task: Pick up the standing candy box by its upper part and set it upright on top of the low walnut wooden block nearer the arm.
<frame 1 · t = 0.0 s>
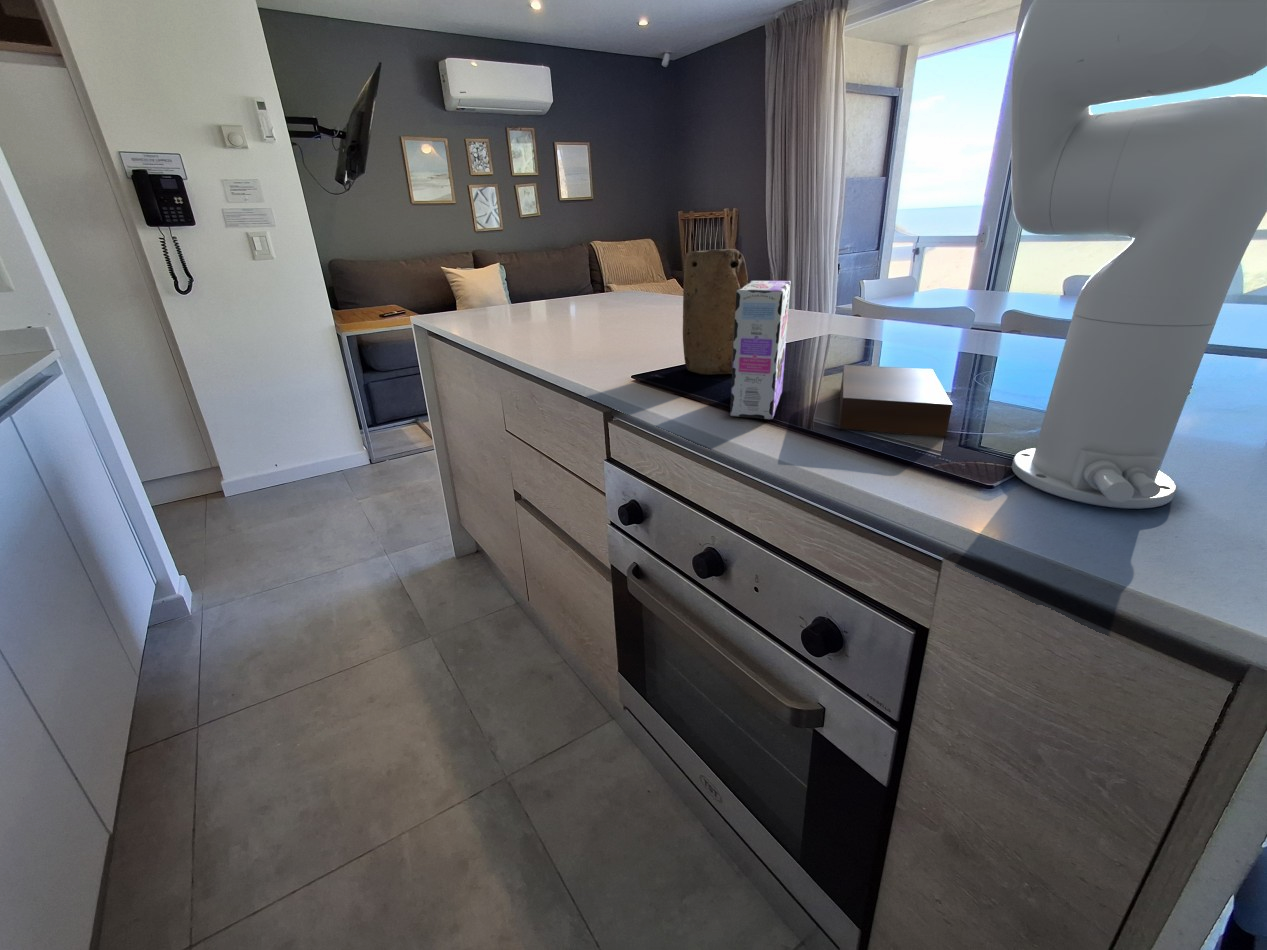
candy box: (757, 405, 81), on the countertop
block: (714, 372, 100), on the countertop
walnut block: (886, 411, 77), on the countertop
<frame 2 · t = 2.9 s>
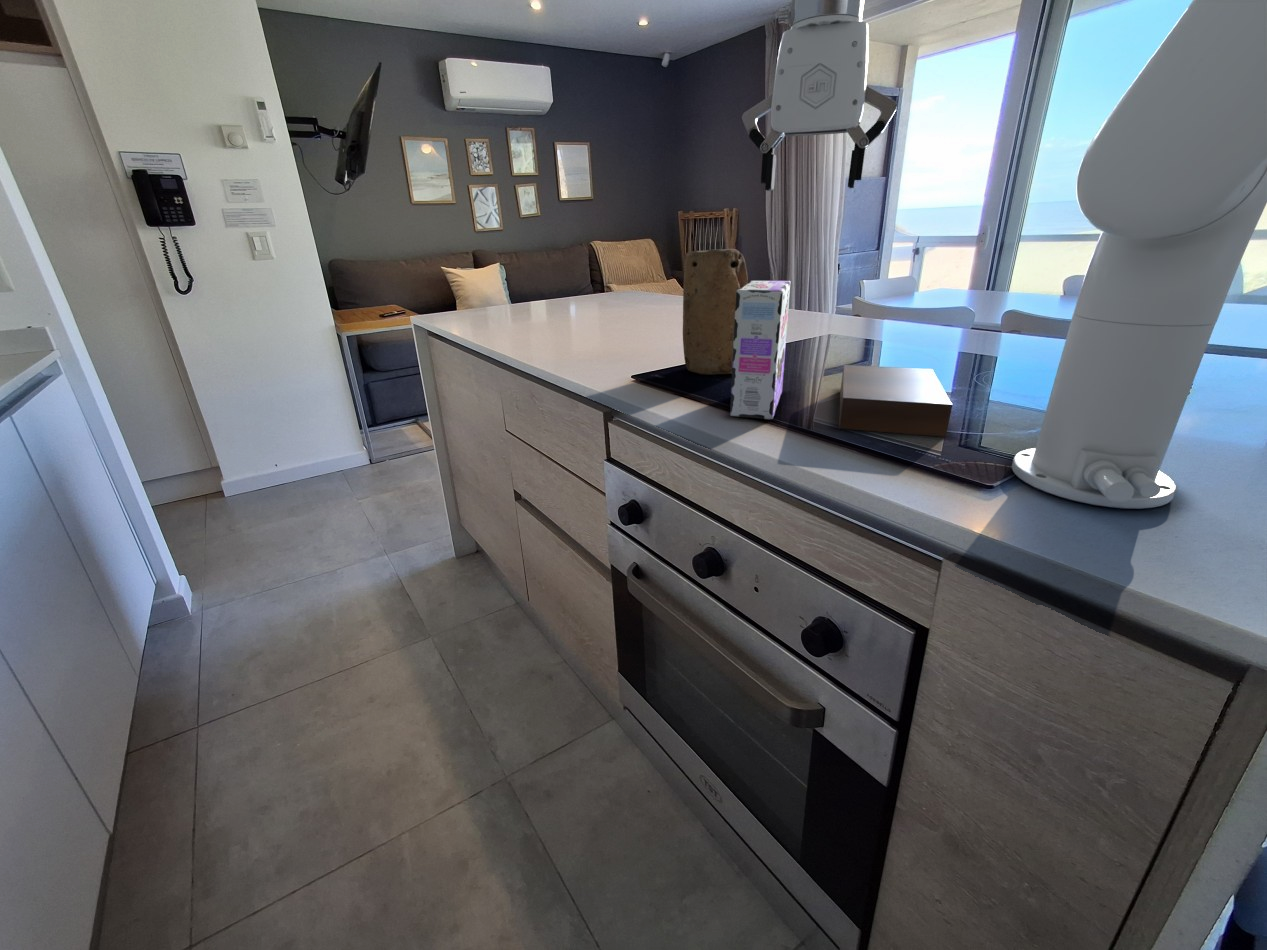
hand: (809, 189, 70), 27 cm above the countertop, tool pointing down, fingers open, 9 cm apart
nothing on the countertop moved.
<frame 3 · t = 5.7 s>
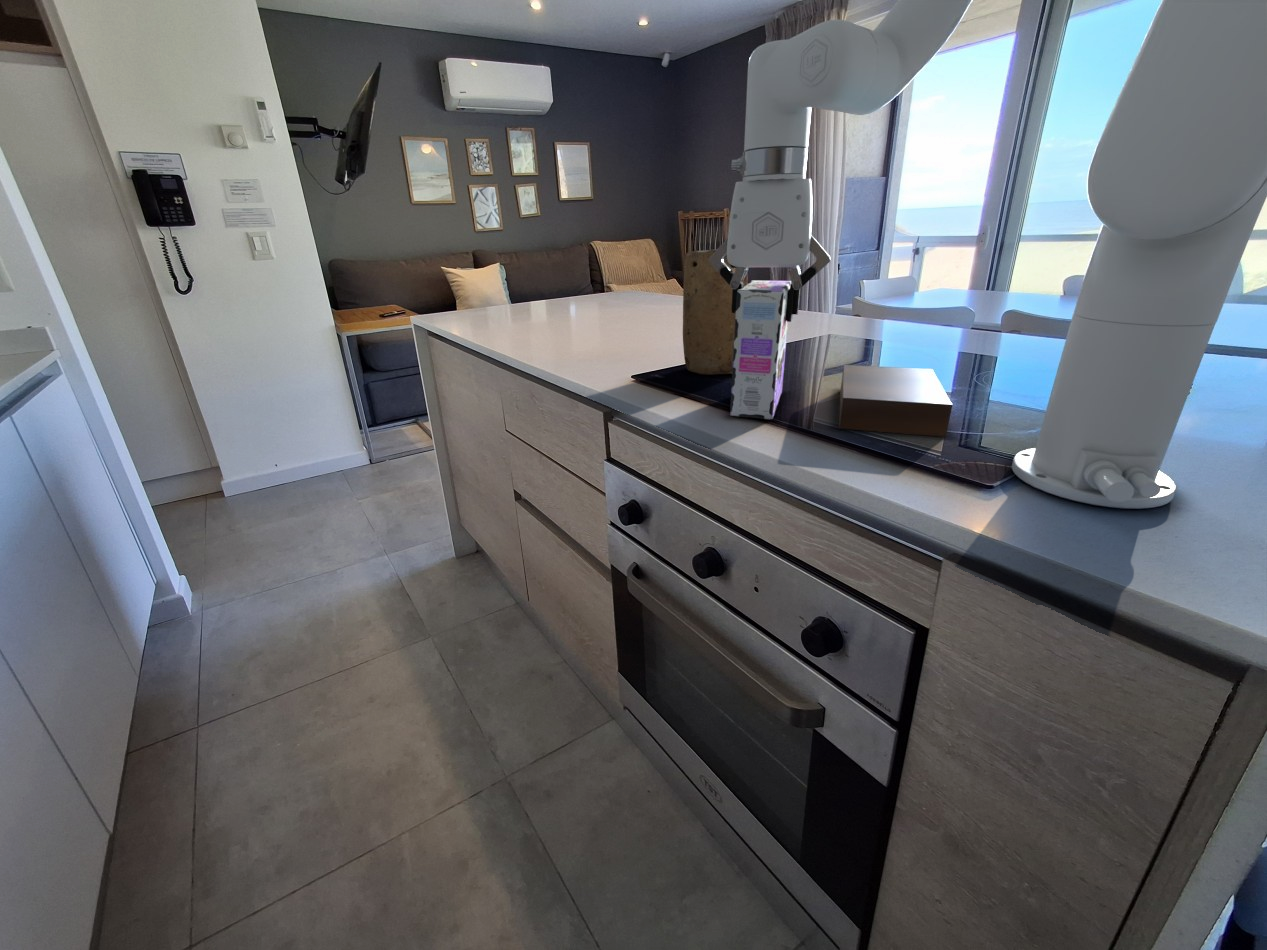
hand: (764, 318, 77), 12 cm above the countertop, tool pointing down, fingers closed on candy box, 5 cm apart
candy box: (757, 405, 81), on the countertop, touching gripper
everything else where it was.
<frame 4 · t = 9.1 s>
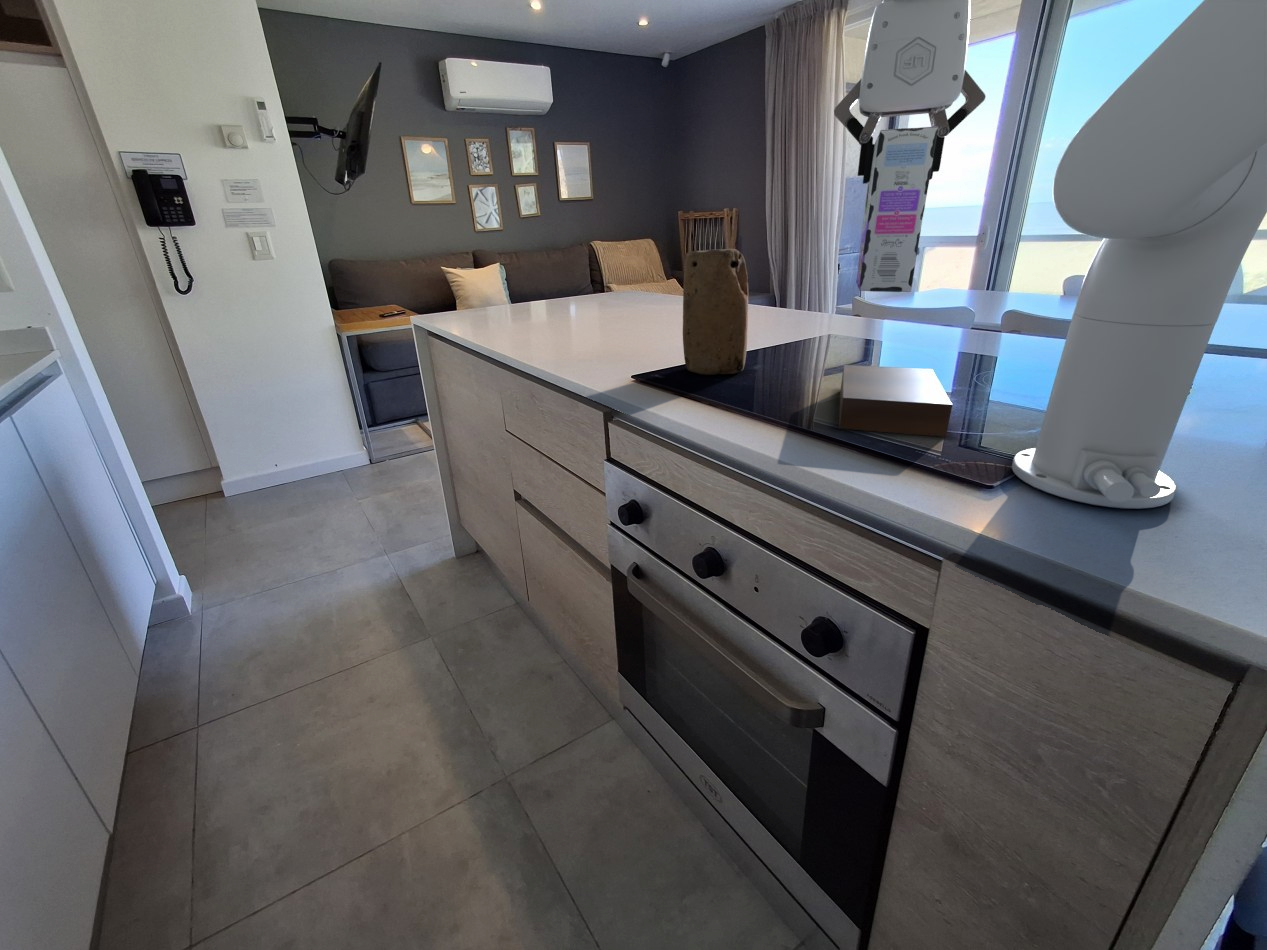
hand: (896, 179, 66), 28 cm above the countertop, tool pointing down, fingers closed on candy box, 5 cm apart
candy box: (880, 288, 71), point 16 cm above the countertop, touching gripper
everything else where it was.
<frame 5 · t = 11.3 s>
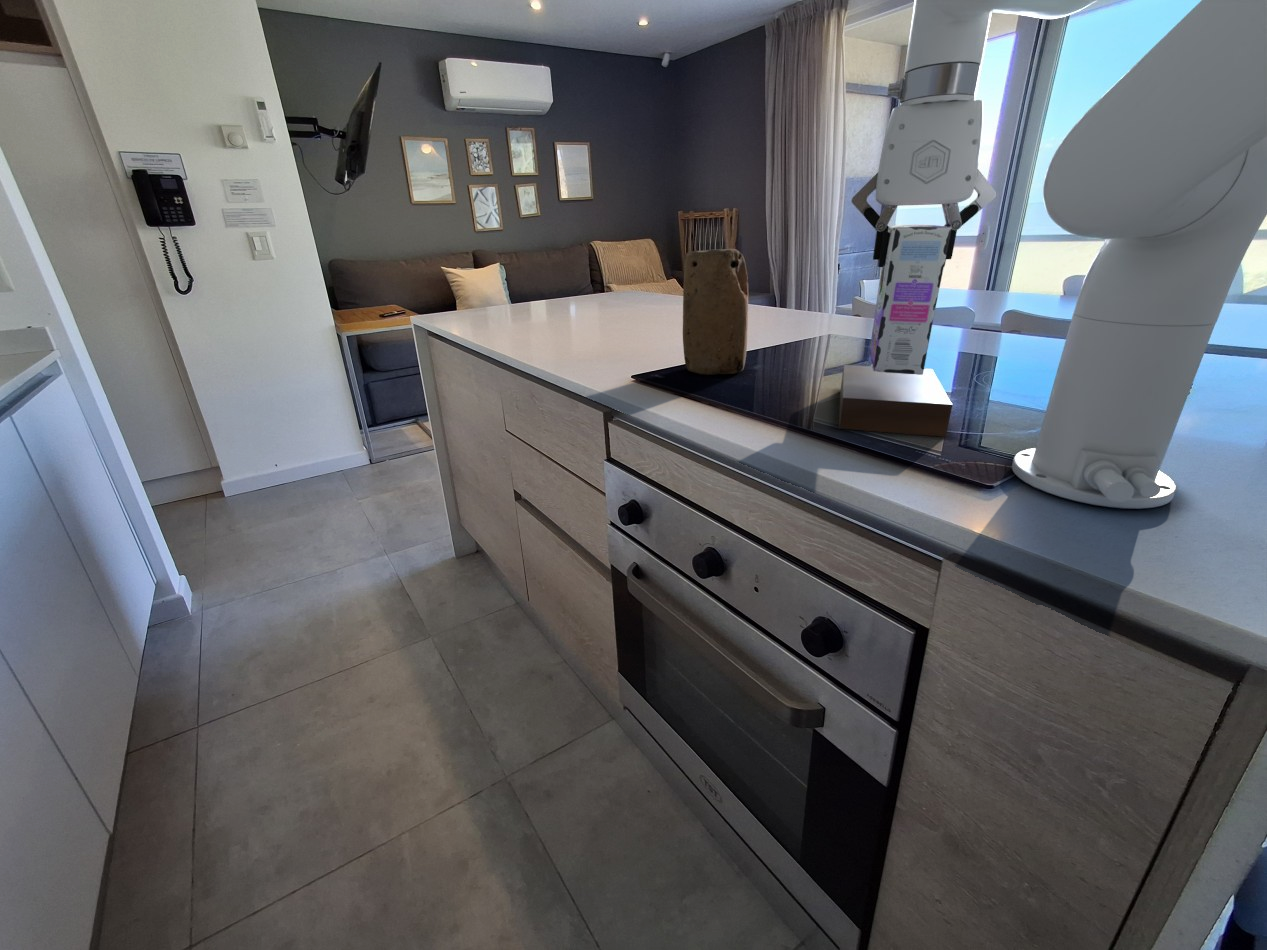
hand: (910, 264, 70), 19 cm above the countertop, tool pointing down, fingers closed on candy box, 5 cm apart
candy box: (893, 363, 74), point 6 cm above the countertop, touching gripper
everything else where it was.
when the fingers open (16 cm above the countertop, at t = 12.6 s): candy box stays where it is, resting on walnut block.
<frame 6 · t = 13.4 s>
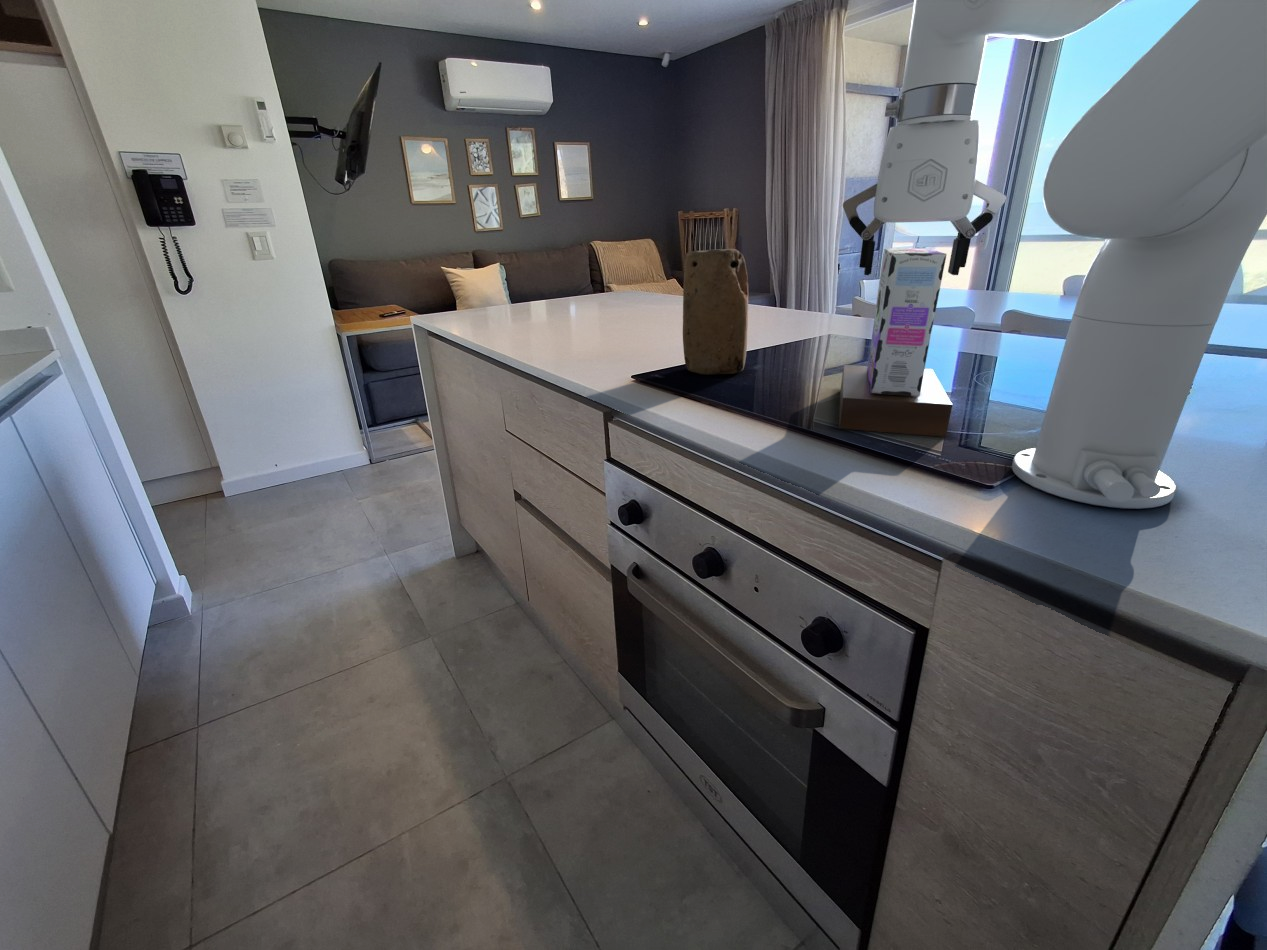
hand: (909, 274, 70), 18 cm above the countertop, tool pointing down, fingers open, 9 cm apart
candy box: (890, 384, 75), point 4 cm above the countertop, touching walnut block
everything else where it was.
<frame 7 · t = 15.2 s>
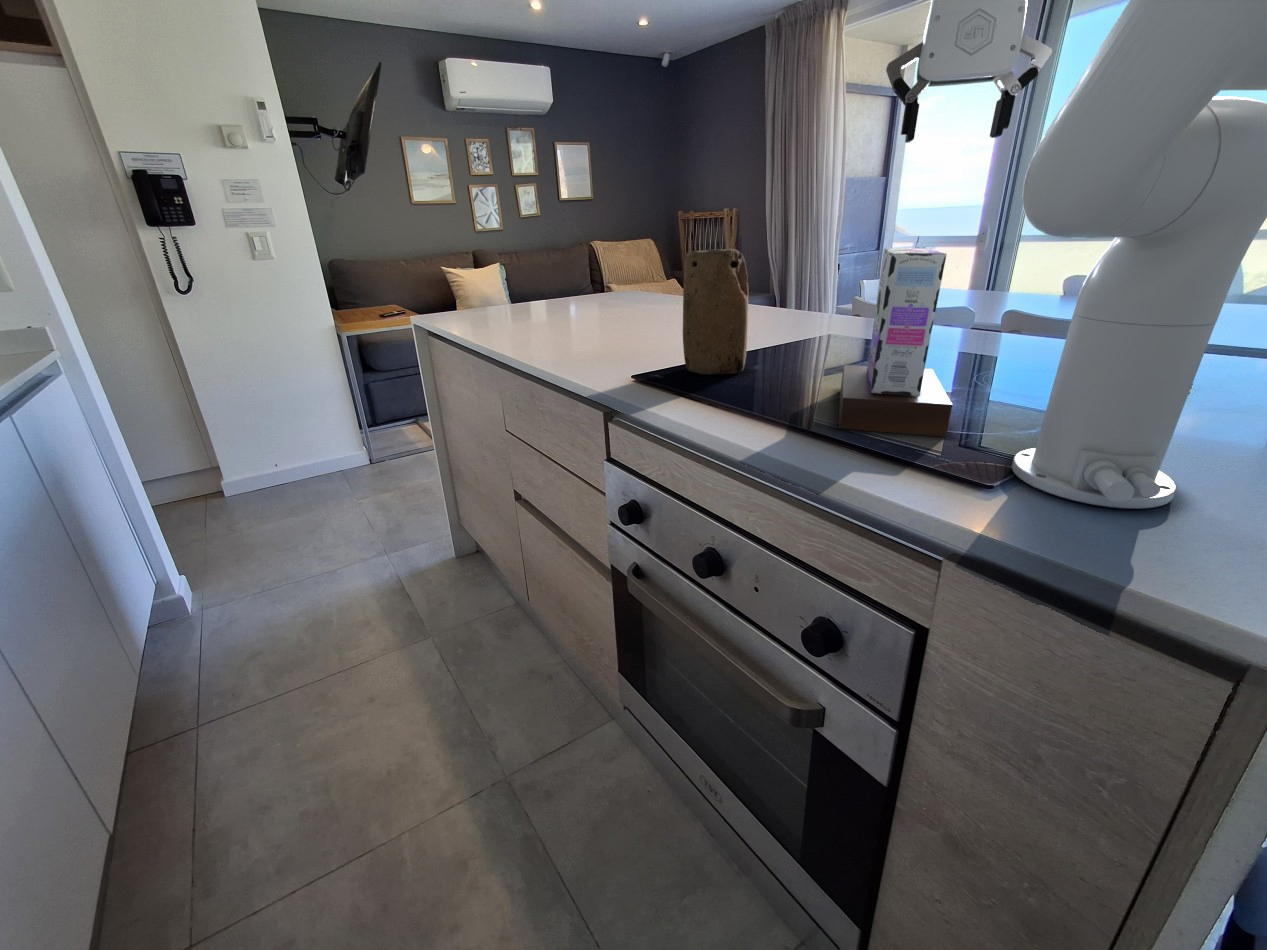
hand: (951, 139, 70), 33 cm above the countertop, tool pointing down, fingers open, 9 cm apart
nothing on the countertop moved.
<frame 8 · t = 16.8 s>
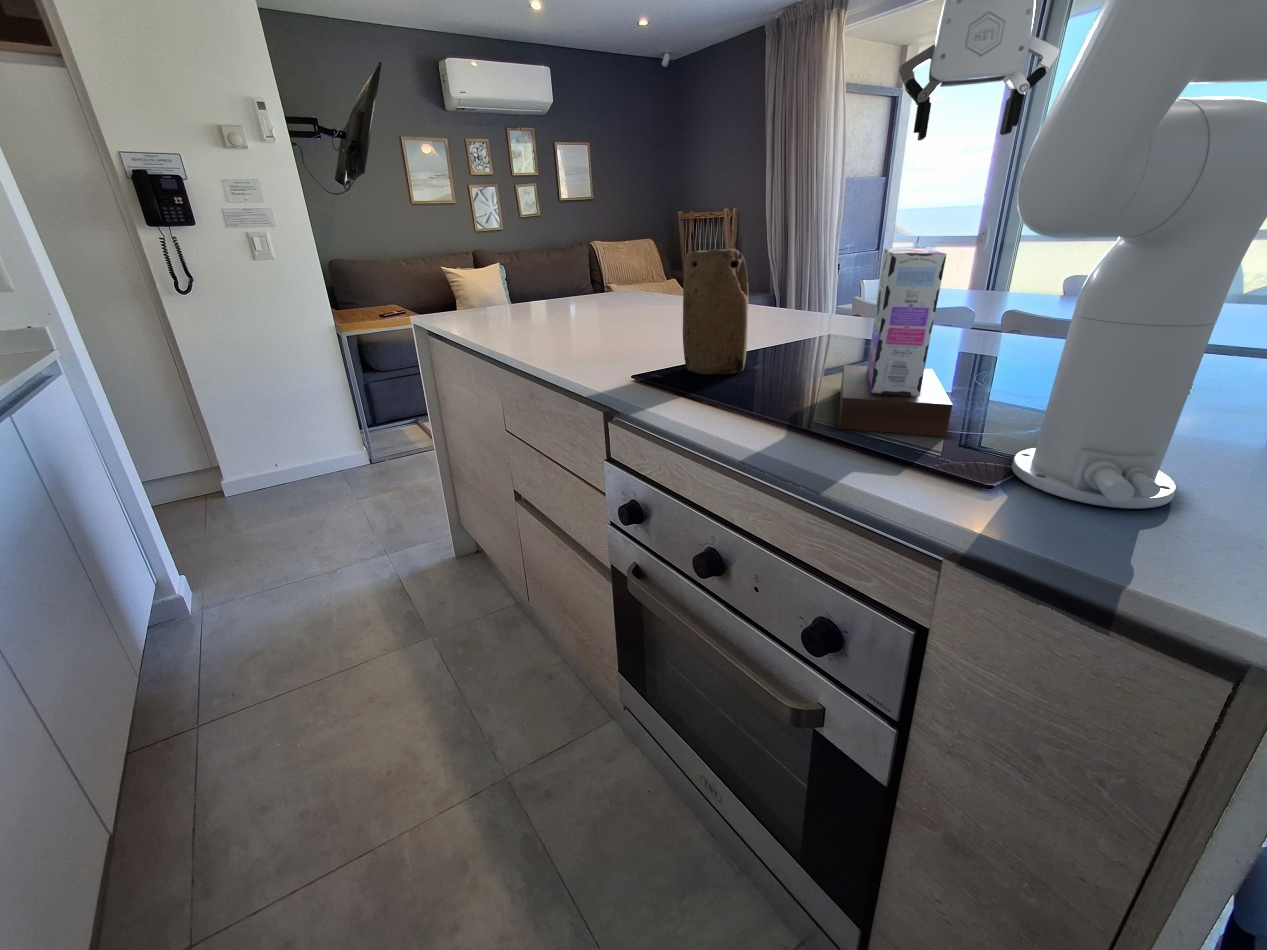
hand: (962, 136, 73), 33 cm above the countertop, tool pointing down, fingers open, 9 cm apart
nothing on the countertop moved.
at the end: candy box inside the target area on the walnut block (0.2 cm from its centre), point 3.8 cm above the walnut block's base; candy box tilted 0°; the gripper is holding nothing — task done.
